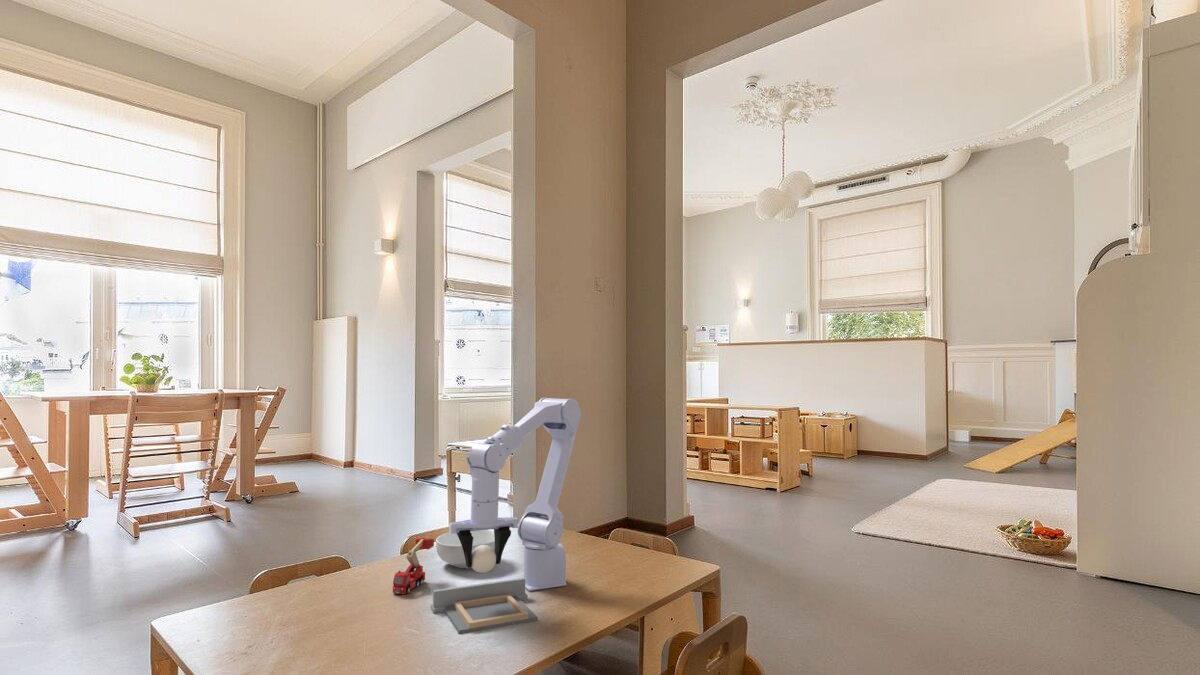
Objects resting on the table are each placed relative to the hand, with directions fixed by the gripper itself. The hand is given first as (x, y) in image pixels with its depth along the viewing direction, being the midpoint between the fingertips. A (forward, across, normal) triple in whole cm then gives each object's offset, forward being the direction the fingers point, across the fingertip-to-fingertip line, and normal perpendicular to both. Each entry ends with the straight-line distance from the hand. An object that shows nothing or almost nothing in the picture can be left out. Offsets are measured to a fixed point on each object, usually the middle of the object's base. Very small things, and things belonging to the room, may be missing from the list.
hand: (483, 564), depth 132 cm
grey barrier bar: (+9, 0, -2) cm, 9 cm away
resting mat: (+9, 0, +6) cm, 10 cm away
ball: (-1, 0, 0) cm, 1 cm away
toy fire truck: (+9, +11, -19) cm, 24 cm away
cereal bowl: (+9, -5, -30) cm, 32 cm away
